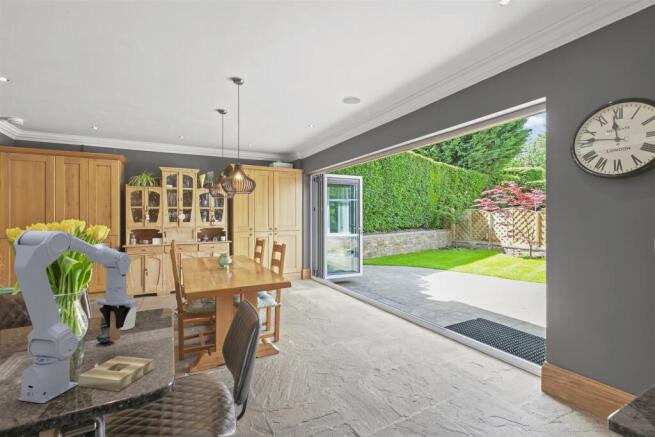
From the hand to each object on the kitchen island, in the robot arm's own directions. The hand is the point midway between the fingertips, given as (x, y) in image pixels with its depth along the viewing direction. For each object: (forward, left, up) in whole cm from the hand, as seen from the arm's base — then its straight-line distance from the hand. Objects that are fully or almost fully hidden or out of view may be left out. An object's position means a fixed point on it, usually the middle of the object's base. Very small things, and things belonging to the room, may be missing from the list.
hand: (115, 327), depth 105 cm
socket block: (-11, -12, -10) cm, 19 cm away
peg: (0, 0, -4) cm, 4 cm away
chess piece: (+9, +13, -11) cm, 19 cm away
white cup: (+26, +20, -11) cm, 35 cm away
